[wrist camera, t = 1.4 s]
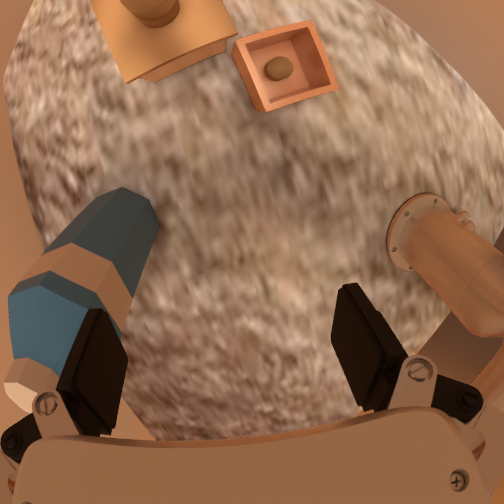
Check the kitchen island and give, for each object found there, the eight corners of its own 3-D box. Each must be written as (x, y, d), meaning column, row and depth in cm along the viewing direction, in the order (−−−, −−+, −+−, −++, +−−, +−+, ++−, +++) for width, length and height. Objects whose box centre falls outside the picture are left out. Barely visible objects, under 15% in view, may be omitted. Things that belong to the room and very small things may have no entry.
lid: (195, -45, 13) (191, -79, 8) (236, 35, 17) (244, 14, 12) (93, 3, 14) (63, -17, 9) (128, 83, 18) (101, 79, 13)
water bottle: (159, 259, 36) (118, 451, 14) (92, 254, 34) (9, 420, 13) (160, 188, 31) (74, 369, 10) (86, 186, 30) (-53, 330, 8)
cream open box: (197, -5, 21) (191, -39, 13) (224, 51, 25) (228, 32, 17) (128, 26, 22) (100, 3, 14) (154, 82, 26) (131, 75, 18)
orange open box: (291, 35, 24) (311, 19, 18) (314, 90, 28) (339, 89, 22) (230, 53, 25) (235, 40, 19) (255, 110, 28) (266, 112, 22)
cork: (281, 57, 25) (288, 53, 23) (289, 77, 26) (296, 74, 24) (260, 64, 25) (264, 60, 23) (268, 84, 27) (273, 82, 24)
